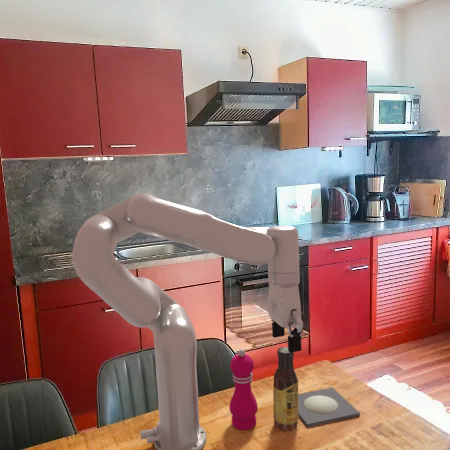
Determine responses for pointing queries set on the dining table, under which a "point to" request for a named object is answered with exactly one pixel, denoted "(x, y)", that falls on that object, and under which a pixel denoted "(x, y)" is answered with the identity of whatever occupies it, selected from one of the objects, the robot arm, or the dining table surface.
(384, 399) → the dining table surface
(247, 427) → the pepper mill
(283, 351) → the sauce bottle
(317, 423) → the bottle mat
